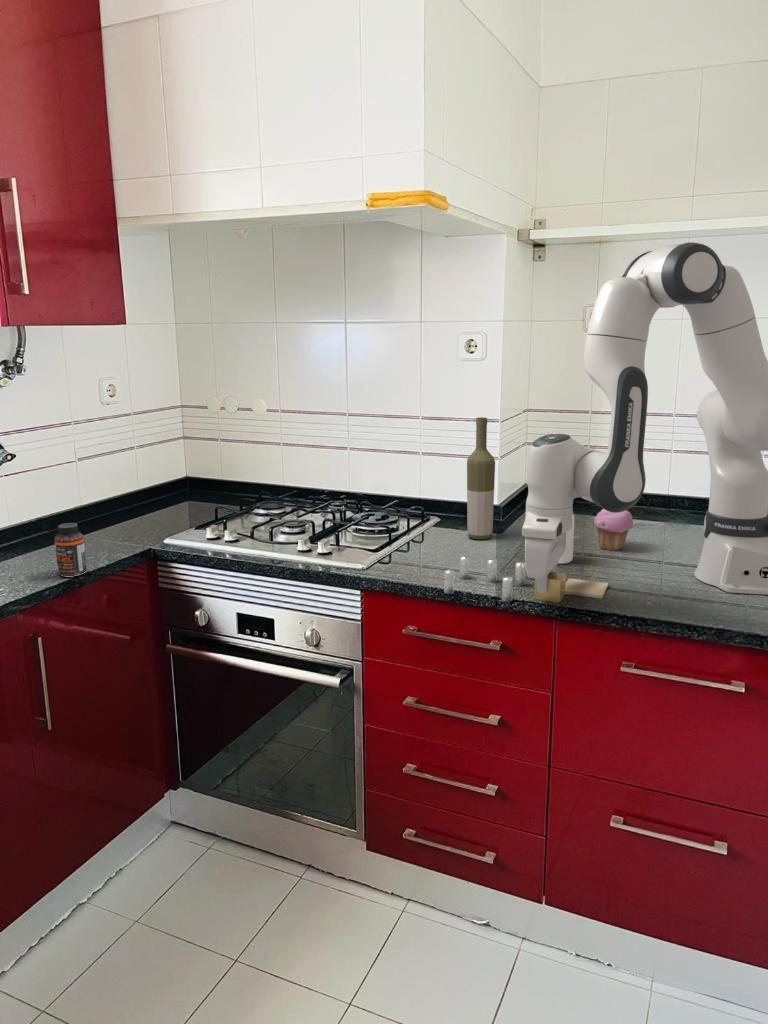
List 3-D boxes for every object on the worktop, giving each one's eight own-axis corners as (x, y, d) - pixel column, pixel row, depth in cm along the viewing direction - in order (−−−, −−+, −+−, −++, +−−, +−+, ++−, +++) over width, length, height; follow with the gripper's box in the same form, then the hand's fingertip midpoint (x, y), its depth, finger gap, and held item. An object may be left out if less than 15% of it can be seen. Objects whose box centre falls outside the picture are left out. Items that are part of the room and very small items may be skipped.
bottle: (469, 532, 202) (470, 415, 194) (496, 534, 199) (498, 416, 192) (462, 540, 195) (464, 419, 188) (490, 542, 193) (493, 420, 186)
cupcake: (603, 541, 192) (605, 501, 190) (637, 547, 187) (640, 506, 185) (586, 549, 186) (588, 508, 183) (621, 555, 180) (624, 513, 178)
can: (537, 558, 180) (539, 507, 177) (562, 554, 182) (564, 504, 179) (553, 566, 174) (555, 513, 171) (578, 562, 176) (580, 510, 173)
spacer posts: (525, 583, 163) (526, 562, 162) (510, 602, 152) (511, 580, 151) (461, 575, 169) (461, 555, 168) (442, 593, 158) (442, 572, 157)
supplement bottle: (53, 578, 171) (47, 528, 168) (65, 570, 176) (59, 521, 174) (80, 578, 170) (74, 528, 168) (91, 570, 176) (86, 521, 173)
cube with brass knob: (564, 594, 157) (565, 571, 155) (559, 602, 152) (560, 579, 151) (539, 591, 158) (540, 568, 157) (534, 599, 154) (534, 576, 153)
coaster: (608, 585, 161) (608, 582, 161) (602, 598, 154) (602, 595, 154) (568, 581, 164) (568, 578, 164) (561, 593, 157) (561, 590, 157)
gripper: (544, 505, 162) (541, 569, 166) (519, 530, 144) (517, 601, 148) (575, 508, 160) (572, 572, 163) (554, 533, 142) (551, 605, 145)
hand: (546, 586), depth 155 cm, fingers open, 5 cm apart
